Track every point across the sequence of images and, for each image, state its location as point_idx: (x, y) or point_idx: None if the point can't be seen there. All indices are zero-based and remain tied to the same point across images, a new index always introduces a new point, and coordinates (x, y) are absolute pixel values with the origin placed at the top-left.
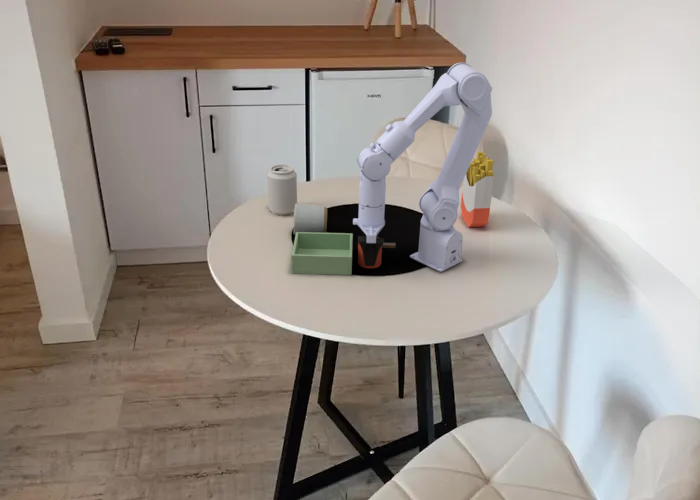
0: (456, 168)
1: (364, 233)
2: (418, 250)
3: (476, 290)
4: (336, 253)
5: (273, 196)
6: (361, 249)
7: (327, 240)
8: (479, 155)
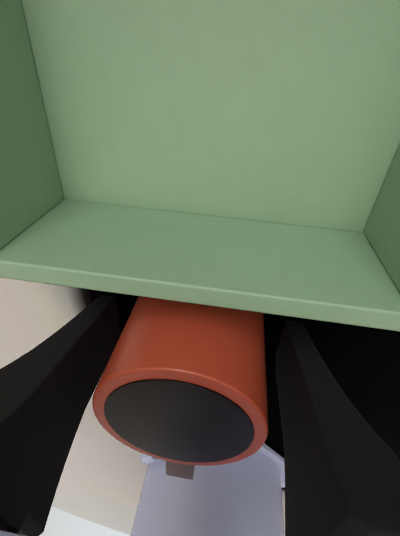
0: None
1: (308, 424)
2: (232, 470)
3: (68, 471)
4: (324, 129)
5: None
6: (127, 341)
7: None
8: None
